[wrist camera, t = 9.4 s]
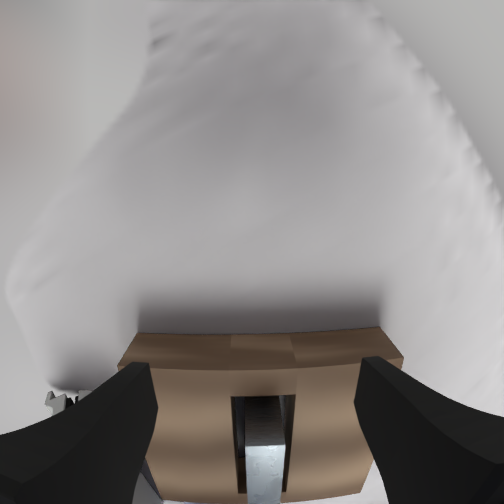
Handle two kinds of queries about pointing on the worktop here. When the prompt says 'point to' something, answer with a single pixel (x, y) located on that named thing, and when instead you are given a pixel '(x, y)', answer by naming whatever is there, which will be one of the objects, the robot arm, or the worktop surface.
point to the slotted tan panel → (257, 384)
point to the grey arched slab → (144, 495)
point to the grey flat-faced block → (264, 449)
